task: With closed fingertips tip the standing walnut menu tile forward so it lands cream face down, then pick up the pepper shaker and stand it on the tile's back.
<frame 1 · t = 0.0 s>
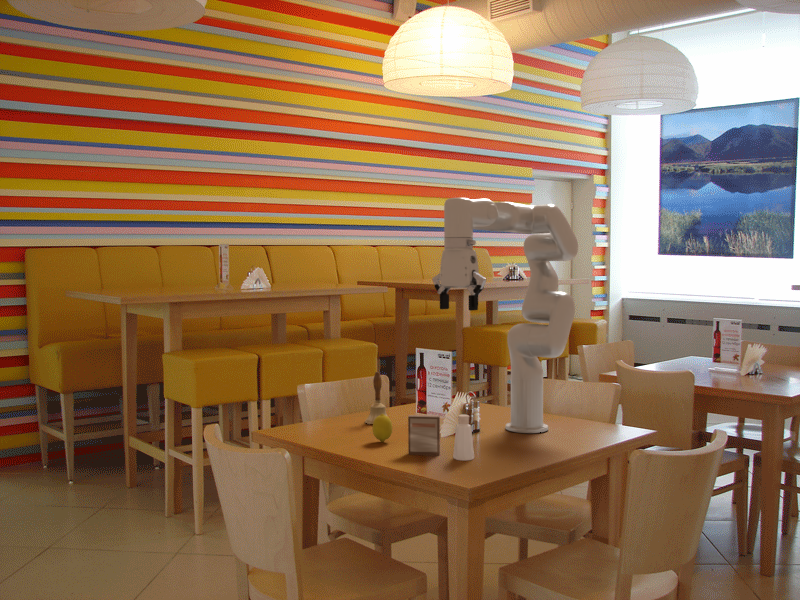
hand: (458, 309, 203), 37 cm above the table, tool pointing down, fingers open, 9 cm apart
lemon: (382, 443, 213), on the table
pepper shaker: (463, 458, 194), on the table
hand bell: (378, 423, 240), on the table
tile: (424, 454, 199), on the table
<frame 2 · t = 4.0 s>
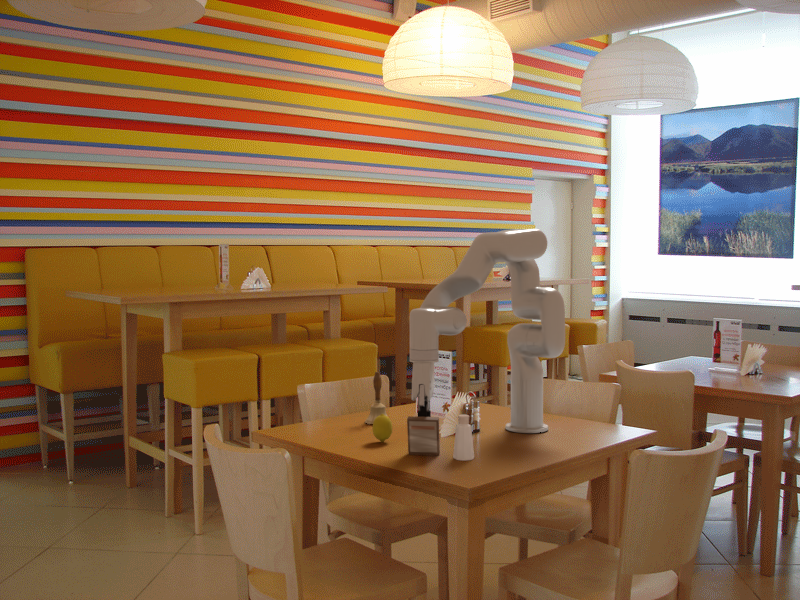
hand: (424, 425, 199), 7 cm above the table, tool pointing down, fingers closed
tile: (424, 453, 199), on the table, tilted 14°
everything else where it was.
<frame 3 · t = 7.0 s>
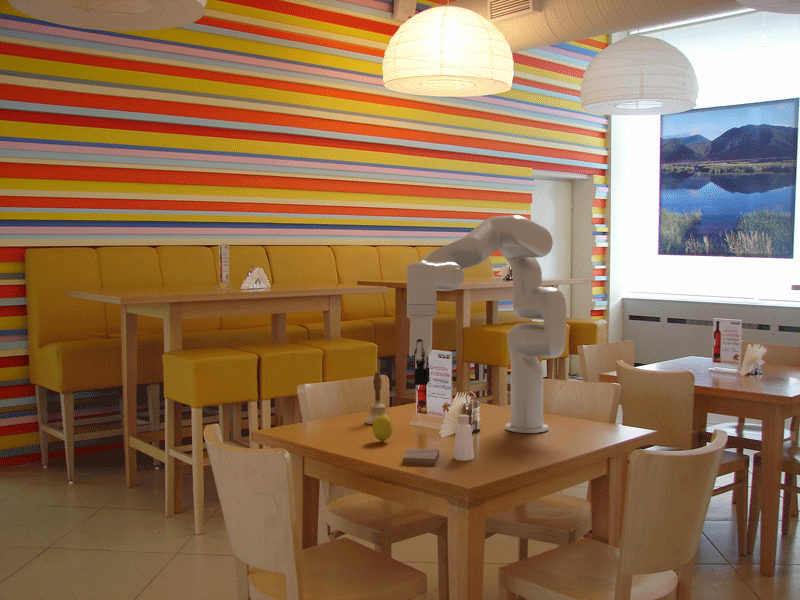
hand: (422, 382, 194), 19 cm above the table, tool pointing down, fingers open, 3 cm apart
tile: (423, 452, 198), point 1 cm above the table, tilted 90°
everything else where it was.
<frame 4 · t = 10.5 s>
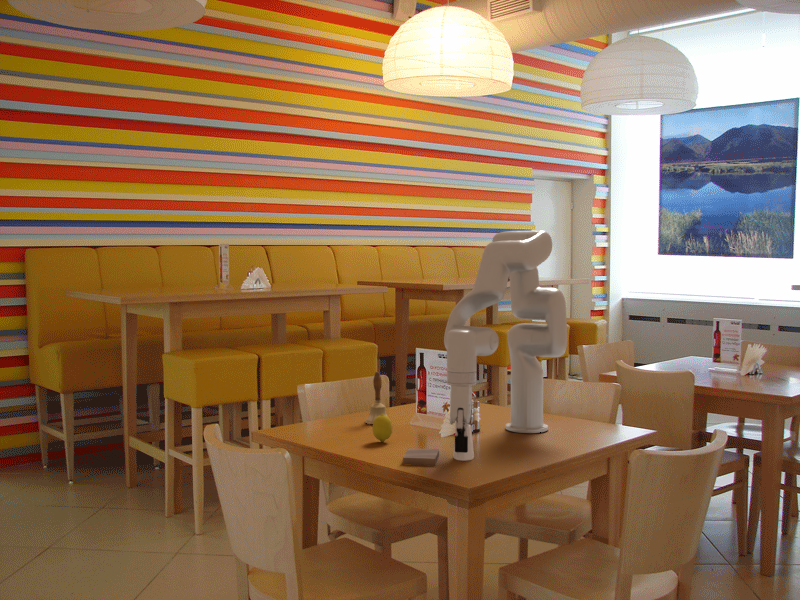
hand: (461, 449, 194), 2 cm above the table, tool pointing down, fingers closed on pepper shaker, 4 cm apart
pepper shaker: (463, 458, 194), on the table, touching gripper
everything else where it was.
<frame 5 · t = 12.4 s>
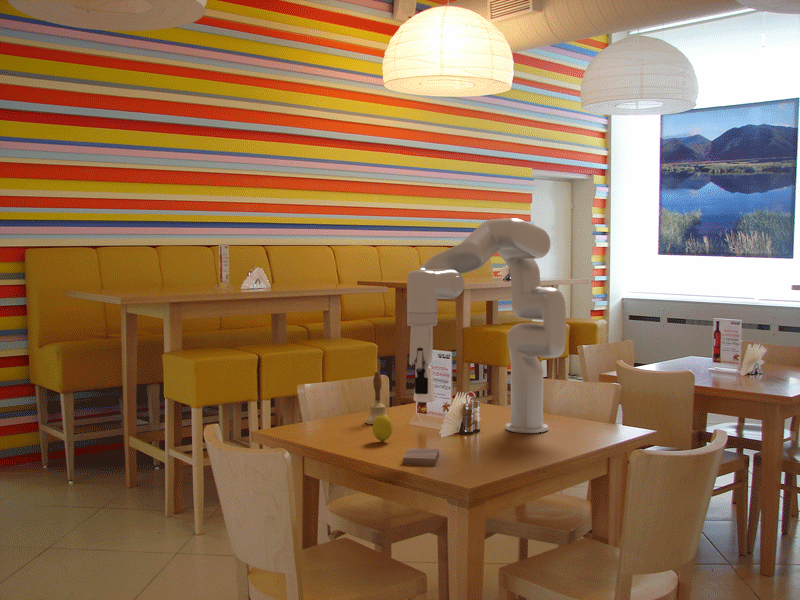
hand: (422, 391, 193), 17 cm above the table, tool pointing down, fingers closed on pepper shaker, 4 cm apart
pepper shaker: (424, 401, 193), point 15 cm above the table, touching gripper
everything else where it was.
when the fingers open (6 cm above the table, at t = 14.8 s): pepper shaker drops 2 cm, resting on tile.
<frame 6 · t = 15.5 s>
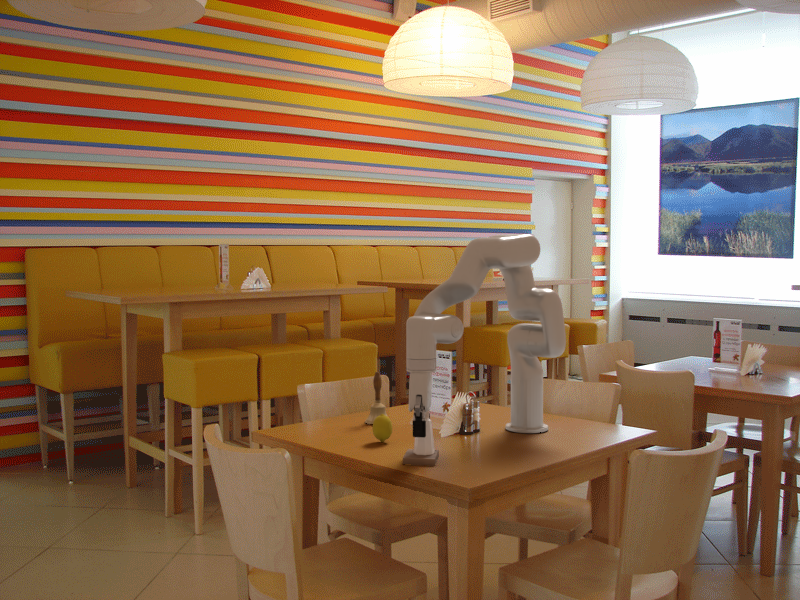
hand: (421, 432, 193), 7 cm above the table, tool pointing down, fingers open, 9 cm apart
pepper shaker: (424, 453, 193), point 1 cm above the table, touching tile
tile: (423, 452, 198), point 1 cm above the table, tilted 89°, touching pepper shaker
everything else where it was.
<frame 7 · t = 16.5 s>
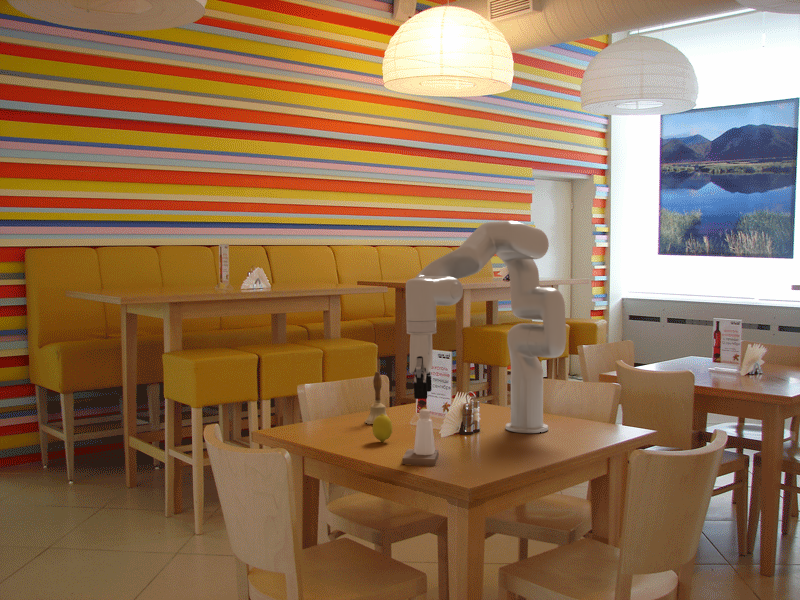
hand: (423, 394, 193), 16 cm above the table, tool pointing down, fingers open, 9 cm apart
nothing on the table moved.
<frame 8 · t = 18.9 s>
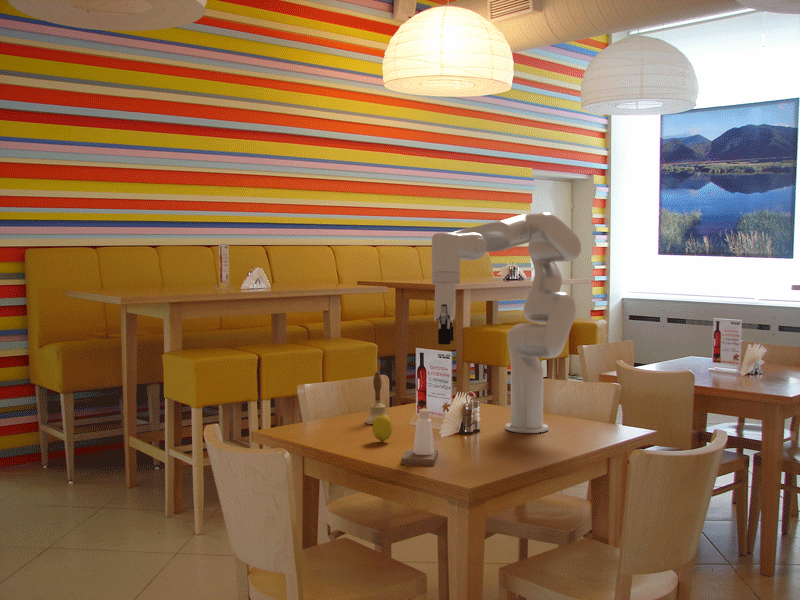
hand: (446, 342, 206), 28 cm above the table, tool pointing down, fingers open, 9 cm apart
nothing on the table moved.
at the end: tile tilted 89°; pepper shaker inside the target area (1.5 cm from its centre), point 1.5 cm above the table; pepper shaker tilted 0° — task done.
